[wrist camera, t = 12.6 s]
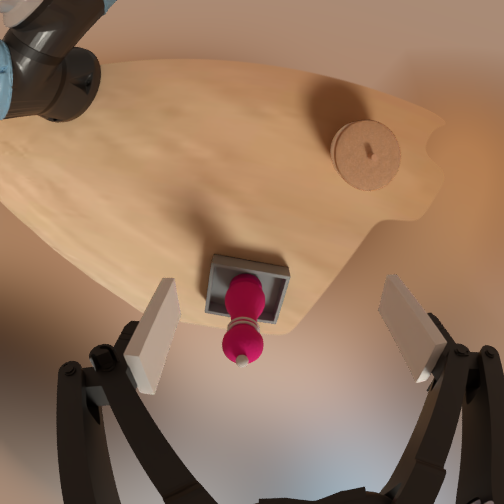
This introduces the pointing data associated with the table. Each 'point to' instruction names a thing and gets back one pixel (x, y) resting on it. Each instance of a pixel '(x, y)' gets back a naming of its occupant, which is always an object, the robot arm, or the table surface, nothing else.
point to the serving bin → (268, 274)
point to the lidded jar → (366, 154)
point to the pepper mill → (244, 319)
